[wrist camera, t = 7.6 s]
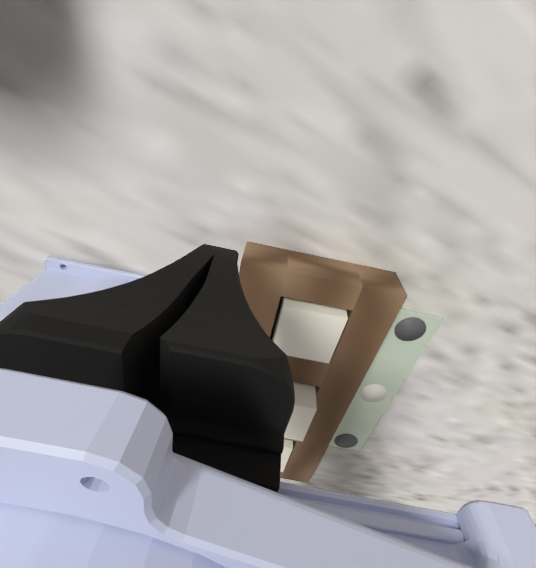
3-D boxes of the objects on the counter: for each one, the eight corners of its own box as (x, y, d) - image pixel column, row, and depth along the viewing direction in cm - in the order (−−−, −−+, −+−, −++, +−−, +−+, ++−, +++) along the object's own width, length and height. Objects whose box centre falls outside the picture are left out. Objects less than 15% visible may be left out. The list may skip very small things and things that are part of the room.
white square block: (273, 323, 27) (270, 352, 24) (285, 279, 24) (283, 305, 21) (325, 334, 27) (328, 363, 24) (342, 291, 24) (348, 318, 22)
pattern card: (323, 442, 35) (323, 445, 35) (392, 307, 25) (393, 310, 25) (358, 448, 36) (359, 452, 35) (441, 317, 25) (443, 320, 25)
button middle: (255, 398, 30) (251, 432, 27) (264, 366, 27) (260, 399, 25) (302, 407, 30) (302, 441, 27) (314, 376, 27) (316, 409, 25)
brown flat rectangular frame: (213, 438, 37) (207, 464, 34) (247, 241, 23) (241, 261, 20) (307, 455, 37) (308, 482, 34) (395, 272, 23) (407, 295, 21)
